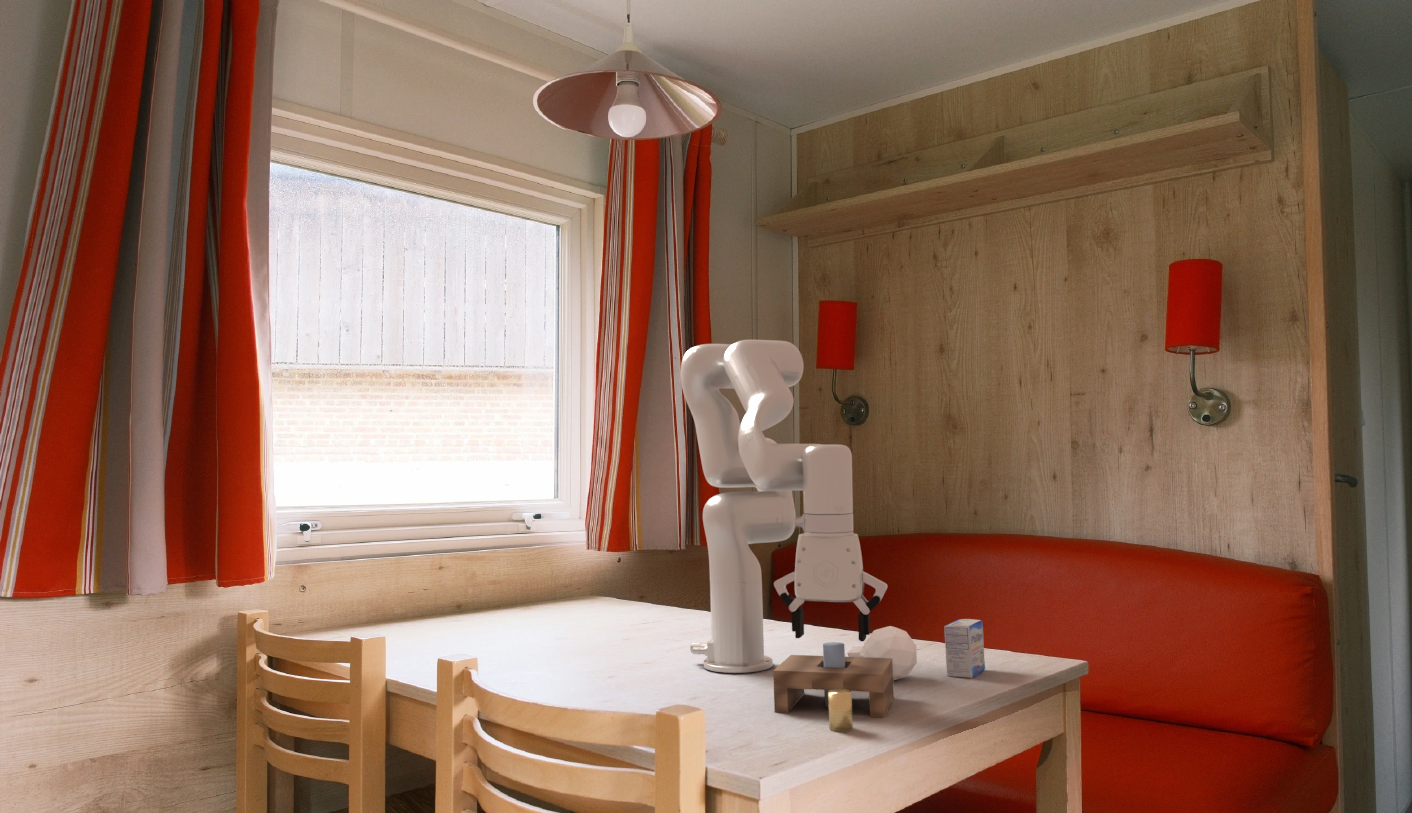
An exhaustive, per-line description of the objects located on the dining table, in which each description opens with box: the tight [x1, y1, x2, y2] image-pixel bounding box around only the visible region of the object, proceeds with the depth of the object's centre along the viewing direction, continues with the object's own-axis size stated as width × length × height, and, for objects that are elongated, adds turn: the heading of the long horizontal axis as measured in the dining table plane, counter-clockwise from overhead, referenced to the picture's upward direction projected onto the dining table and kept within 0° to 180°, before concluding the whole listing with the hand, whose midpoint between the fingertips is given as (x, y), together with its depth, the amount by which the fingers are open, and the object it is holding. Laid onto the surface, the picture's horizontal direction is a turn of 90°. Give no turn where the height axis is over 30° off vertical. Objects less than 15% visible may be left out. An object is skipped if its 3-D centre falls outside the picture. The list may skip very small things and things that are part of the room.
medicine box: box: [944, 618, 986, 679], centre depth 161 cm, size 8×4×9 cm, turn 148°
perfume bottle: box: [847, 625, 918, 681], centre depth 159 cm, size 9×9×12 cm
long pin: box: [822, 641, 846, 707], centre depth 142 cm, size 3×3×9 cm
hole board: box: [772, 654, 895, 719], centre depth 142 cm, size 16×12×6 cm
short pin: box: [827, 689, 854, 733], centre depth 128 cm, size 3×3×5 cm
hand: (830, 637), depth 143 cm, fingers open, 9 cm apart
